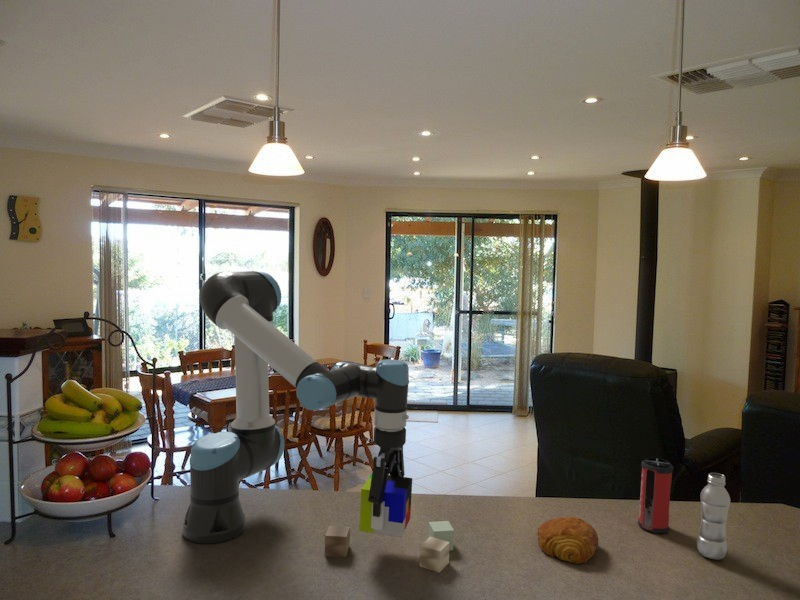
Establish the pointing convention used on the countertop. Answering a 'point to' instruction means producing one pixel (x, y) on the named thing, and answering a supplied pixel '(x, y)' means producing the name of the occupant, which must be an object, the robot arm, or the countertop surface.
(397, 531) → the puzzle toy
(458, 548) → the countertop surface
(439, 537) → the sage painted block
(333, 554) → the brown wooden cube
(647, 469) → the speaker
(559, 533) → the croissant
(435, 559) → the maple block
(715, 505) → the plastic bottle
